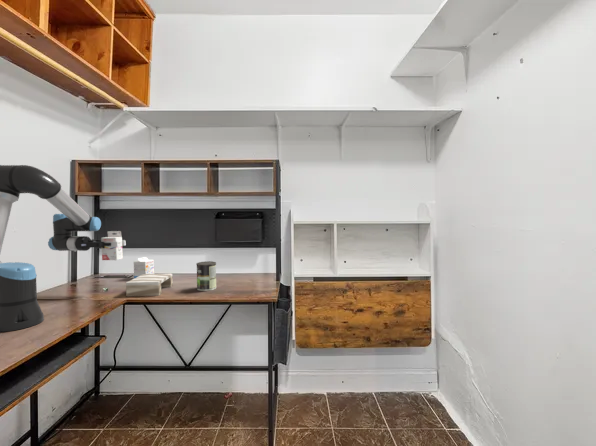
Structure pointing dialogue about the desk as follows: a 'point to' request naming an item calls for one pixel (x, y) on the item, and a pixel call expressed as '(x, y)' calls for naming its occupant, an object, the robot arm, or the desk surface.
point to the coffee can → (206, 276)
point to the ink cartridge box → (112, 252)
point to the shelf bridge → (148, 284)
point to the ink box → (143, 267)
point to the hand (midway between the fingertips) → (121, 243)
